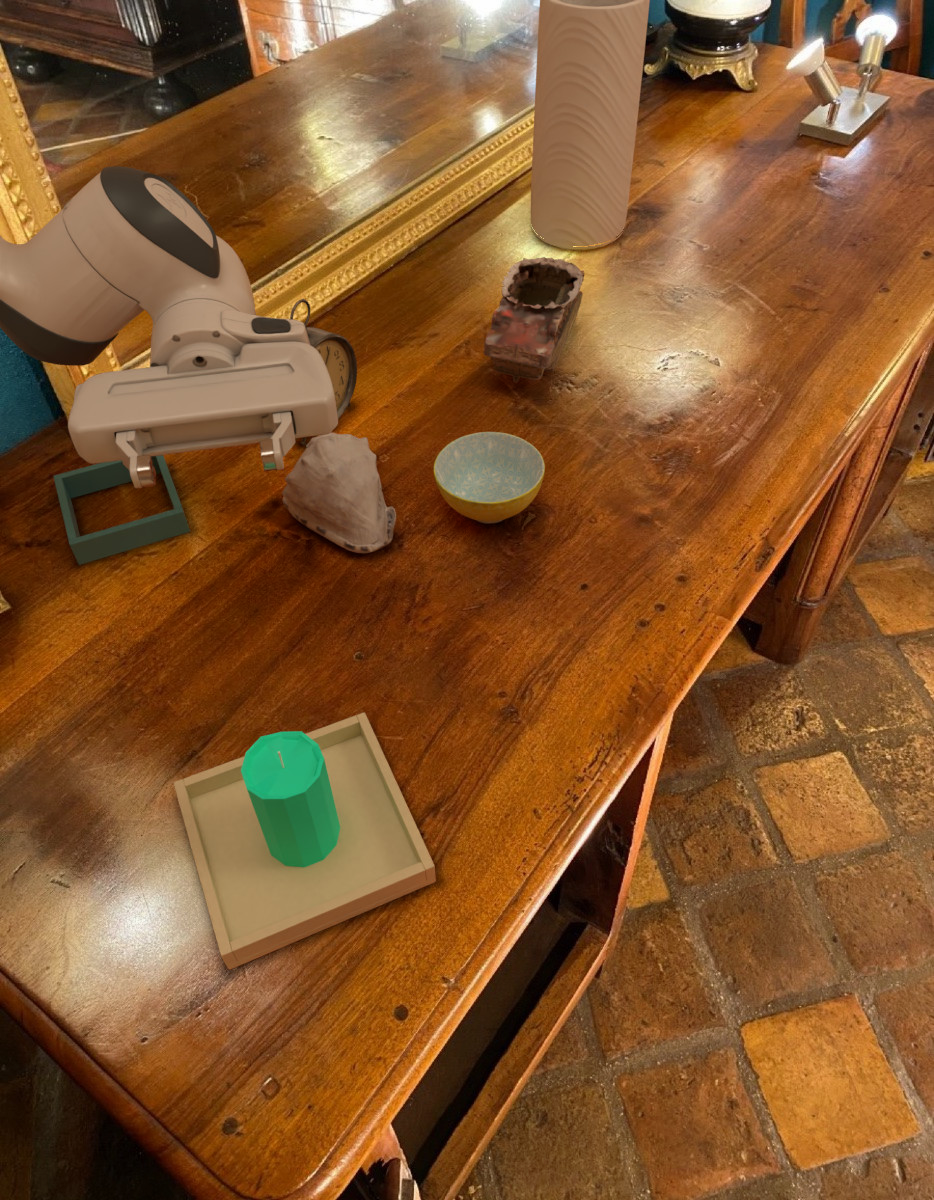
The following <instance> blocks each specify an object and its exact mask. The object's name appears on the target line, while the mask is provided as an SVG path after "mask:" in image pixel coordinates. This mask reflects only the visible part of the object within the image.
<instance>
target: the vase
mask: <svg viewBox="0 0 934 1200" xmlns="http://www.w3.org/2000/svg"><path fill="white" fill-rule="evenodd" d="M650 1H651V0H539V8H538V9H539V11H538V27H537V29H538V30H537V48H536V49H537V50H536V68H535V70H536V71H535V91H534V111H533V135H532V154H531V155H532V157H531V159H532V160H531V181H530V225H531V224H532V227H533V229H534V230H535V232H536V233H537V234H538V235H537V234H536V233H535V232H534V230H533V229H532V227H531V230H532V232H533V233H534V235H535V236H536V237H537V238H539V240H541V241H542V242H544V243H546V244H548V245H551V246H553V247H556V248H559V249H563V250H571V251H588V250H594V249H599V248H603V247H605V246H607V245H610V244H612V243H613V242H615V241H617V240H618V239H619V238H620V237H621V236H622V234H623V233H624V230H625V227H626V222H627V216H628V209H629V202H630V194H631V193H630V192H631V185H632V184H631V183H632V177H633V176H632V175H633V165H634V156H635V147H636V137H637V127H638V119H639V118H638V116H639V107H640V98H641V89H642V81H643V80H642V78H643V71H644V60H645V51H646V40H647V32H648V22H649V13H650V12H649V11H650ZM623 229H624V230H623ZM622 231H623V232H622ZM621 232H622V233H621ZM620 233H621V234H620ZM619 234H620V235H619ZM618 235H619V236H618ZM540 236H541V237H542V238H541V237H540ZM616 236H618V237H617V238H615V237H616ZM543 238H544V239H543ZM614 238H615V239H614ZM611 239H614V240H612V241H610V242H607V243H604V244H601V245H595V246H589V245H594V244H598V243H603V242H606V241H609V240H611ZM573 246H588V247H573Z"/></svg>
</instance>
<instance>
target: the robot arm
mask: <svg viewBox="0 0 934 1200" xmlns="http://www.w3.org/2000/svg"><path fill="white" fill-rule="evenodd" d="M144 311H145V312H147V313H148V315H149V316H150V317H151V320H152V327H151V335H150V353H149V354H150V356H149V366H148V367H147V366H146V367H139V368H131V369H123V370H114V371H105V372H101V373H97V374H94V375H91V376H90V377H88V378H87V379H86V380H84V382H82V383H80V384H77V385H76V387H75V388H74V395H73V403H72V406H71V409H70V412H69V416H68V421H67V429H68V433H69V436H70V439H71V441H72V444H73V446H74V449H75V451H76V453H77V454H78V456H79V457H80V458H81V459H83V460H84V461H85V462H87V463H88V464H92V465H95V464H98V463H103V462H111V461H119V460H122V462H123V465H124V466H125V467H127V468H128V469H129V471H130V476H131V479H132V481H131V482H132V485H133V487H134V489H141V488H142V489H143V488H148V487H150V488H151V487H155V486H157V481H156V480H157V474H156V471H155V468H154V466H153V465H152V459H151V456H159V455H163V456H167V455H174V454H183V453H190V452H196V451H197V452H198V451H199V452H200V451H206V450H214V449H223V448H230V447H238V446H245V445H247V446H248V445H253V444H255V445H256V444H259V448H260V457H261V462H262V468H263V471H264V472H272V471H281V470H282V471H283V470H284V469H285V467H284V457H285V456H286V455H287V454H288V453H289V452H290V450H291V449H292V448H293V446H294V445H295V444H296V442H297V441H296V439H302V438H303V437H307V438H309V437H318V436H321V435H327V434H329V433H333V431H334V430H335V429H336V428H337V427H338V425H339V419H338V416H337V408H336V402H335V396H334V390H333V386H332V382H331V378H330V375H329V372H328V370H327V367H326V365H325V363H324V360H323V358H322V356H321V355H320V353H319V352H318V351H317V350H316V349H315V348H314V347H312V346H311V345H310V342H309V338H308V334H307V331H306V328H305V325H304V323H305V322H302V321H301V320H298V319H294V318H293V319H290V318H278V317H268V316H261V315H257V313H256V304H255V297H254V293H253V287H252V284H251V281H250V278H249V275H248V273H247V270H246V268H245V265H244V264H243V262H242V260H241V259H240V257H239V255H238V254H237V253H236V251H235V250H234V248H233V247H232V246H231V245H230V244H228V242H227V241H225V240H224V239H222V238H221V237H220V236H218V235H217V234H216V232H215V230H214V228H213V227H212V225H211V223H210V222H209V221H208V220H207V218H206V217H205V216H204V214H203V213H202V212H201V211H200V209H198V207H197V206H196V205H195V204H194V203H193V202H192V201H191V200H190V198H189V197H188V196H187V195H185V194H184V193H183V192H182V191H181V190H180V189H178V188H177V186H175V185H174V184H172V182H170V181H168V179H165V178H164V177H162V176H160V175H158V174H155V173H151V172H149V171H145V170H142V169H138V168H133V167H129V166H118V165H117V166H115V165H114V166H106V167H104V168H102V169H101V170H100V172H99V173H98V174H96V175H95V176H94V177H93V178H91V180H90V181H88V183H86V184H85V185H84V186H83V187H82V188H81V189H80V190H79V191H77V193H76V194H75V195H74V196H73V197H72V198H71V199H69V200H68V201H67V202H66V204H64V206H63V207H62V209H61V210H60V211H59V212H58V213H56V214H55V216H53V218H51V219H50V220H49V221H48V222H47V223H46V224H45V225H44V226H43V227H42V228H41V229H40V230H38V232H36V233H35V235H33V236H32V237H31V238H30V239H29V240H28V241H27V242H25V243H12V242H10V241H8V240H5V238H3V237H2V236H1V235H0V330H1V331H2V332H3V333H4V334H5V335H6V336H7V337H8V339H10V340H11V342H13V344H14V345H15V346H17V347H18V348H19V349H20V350H21V351H22V352H23V353H25V354H26V355H28V356H29V357H31V358H33V359H35V360H37V361H39V362H44V363H48V364H52V365H56V366H57V365H58V366H67V367H68V366H72V367H73V366H74V367H81V366H87V365H90V364H92V363H93V362H94V361H96V359H97V358H98V357H99V356H100V355H101V354H102V353H103V352H104V351H105V350H106V349H107V347H109V346H110V344H111V343H112V342H113V341H114V340H115V339H116V338H117V337H118V335H119V333H120V332H121V331H122V330H123V329H125V327H127V326H128V325H129V324H130V323H132V321H133V320H135V319H136V318H137V317H139V316H140V315H141V314H142V313H143V312H144Z"/></svg>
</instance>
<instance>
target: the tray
mask: <svg viewBox="0 0 934 1200" xmlns="http://www.w3.org/2000/svg"><path fill="white" fill-rule="evenodd" d="M305 734H306V735H307V736H308V737H310V738H311V739H312V740H313V741H315V742H316V743H317V744H318V745H319V748H320V750H321V752H322V754H323V757H324V760H325V764H326V768H327V773H328V777H329V781H330V785H331V790H332V794H333V798H334V802H335V807H336V811H337V815H338V820H339V824H340V831H339V836H338V841H337V845H336V846H335V847H334V849H333V850H332V851H331V852H330V853H329V854H328V855H327V857H326V858H325V859H324V860H322V861H320V862H317V863H315V864H312V865H310V866H307V867H294V866H285V865H284V864H282V863H281V862H280V861H278V860H277V859H276V858H274V857H273V856H272V855H271V854H270V851H269V848H268V845H267V843H266V840H265V837H264V835H263V832H262V829H261V826H260V824H259V821H258V818H257V815H256V813H255V810H254V807H253V804H252V802H251V799H250V796H249V793H248V791H247V788H246V785H245V782H244V779H243V776H242V773H241V768H242V765H243V761H244V758H245V755H244V756H241V757H238V758H235V759H232V760H230V761H228V762H225V763H222V764H220V765H217V766H214V767H211V768H208V769H206V770H203V771H200V772H198V773H195V774H192V775H190V776H187V777H185V778H181V779H179V780H175V781H173V787H174V790H175V791H174V792H175V794H176V798H177V801H178V805H179V809H180V813H181V816H182V820H183V823H184V827H185V830H186V834H187V838H188V841H189V845H190V849H191V852H192V857H193V859H194V863H195V866H196V870H197V874H198V877H199V882H200V885H201V889H202V892H203V896H204V900H205V903H206V907H207V910H208V914H209V918H210V921H211V925H212V928H213V931H214V935H215V940H216V944H217V947H218V950H219V954H220V957H221V958H222V960H223V962H224V964H225V966H226V967H227V969H228V970H229V971H230V970H233V969H234V968H235V969H236V968H237V967H240V966H242V965H244V964H246V963H249V962H251V961H253V960H256V959H258V958H261V957H263V956H266V955H267V954H270V953H272V952H274V951H277V950H280V949H281V948H284V947H286V946H289V945H291V944H294V943H296V942H298V941H300V940H303V939H305V938H308V937H310V936H312V935H314V934H317V933H319V932H321V931H324V930H327V929H329V928H332V927H333V926H336V925H338V924H340V923H343V922H345V921H347V920H350V919H352V918H354V917H356V916H359V915H361V914H364V913H366V912H369V911H370V910H373V909H376V908H377V907H380V906H382V905H385V904H387V903H390V902H393V901H394V900H397V899H400V898H401V897H405V896H406V895H409V894H411V893H413V892H416V891H417V890H418V891H419V890H420V889H423V888H425V887H428V886H429V885H432V884H434V883H436V882H437V878H436V867H435V864H434V861H433V859H432V856H431V855H430V852H429V850H428V848H427V846H426V843H425V841H424V839H423V837H422V835H421V832H420V830H419V828H418V825H417V824H416V822H415V820H414V817H413V814H412V813H411V811H410V809H409V806H408V804H407V802H406V800H405V798H404V797H405V796H404V795H403V792H402V791H401V788H400V787H399V786H400V785H399V784H398V782H397V780H396V777H395V776H394V773H393V771H392V768H391V767H390V765H389V762H388V760H387V758H386V755H385V754H384V751H383V749H382V747H381V744H380V742H379V740H378V737H377V736H376V734H375V731H374V729H373V727H372V725H371V722H370V721H369V718H368V716H367V714H366V712H365V711H364V712H361V713H358V714H355V715H353V716H349V717H348V718H345V719H342V720H339V721H337V722H333V723H331V724H328V725H326V726H323V727H321V728H320V727H319V728H317V729H315V730H312V731H309V732H306V733H305Z"/></svg>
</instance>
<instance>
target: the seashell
mask: <svg viewBox="0 0 934 1200" xmlns="http://www.w3.org/2000/svg"><path fill="white" fill-rule="evenodd" d="M305 447H306V448H305V450H304V451H303V452H302V454H301V456H300V457H298V459H297V461H296V463H295V464H294V467H293V468H292V470H291V471H290V472H289V473H288V474H287V475H286V477H284V481H285V483H286V486H285V487H284V488H283V490H282V493H281V494H282V496H283V498H282V504H283V506H284V507H285V508H286V510H288V512H289V513H290V515H291V516H292V517H293V518H294V519H295V520H296V521H298V522H299V523H300V524H302V525H304V527H306V528H308V529H309V530H311V531H312V532H314V533H316V534H318V535H320V536H321V537H323V538H325V539H326V540H329V541H330V542H332V543H334V544H336V545H337V546H339V547H341V548H343V549H345V550H346V551H349V552H353V553H357V554H369V553H373V552H376V551H378V550H380V549H382V548H384V547H386V546H387V545H390V543H391V542H392V540H393V538H394V529H395V526H396V522H397V513H396V509H395V508H394V506H392V505H391V506H387V503H386V501H385V497H384V493H383V486H382V483H381V477H380V474H379V471H378V467H377V454H375V453H374V452H372V450H371V448H370V444H369V439H368V437H366V436H365V437H362V438H361V437H360V438H359V437H357V436H355V435H352V434H350V433H336V432H331V433H329V434H327V435H319V436H313V437H312V438H311V439H310V440H309V442H308V443H306V445H305Z"/></svg>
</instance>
